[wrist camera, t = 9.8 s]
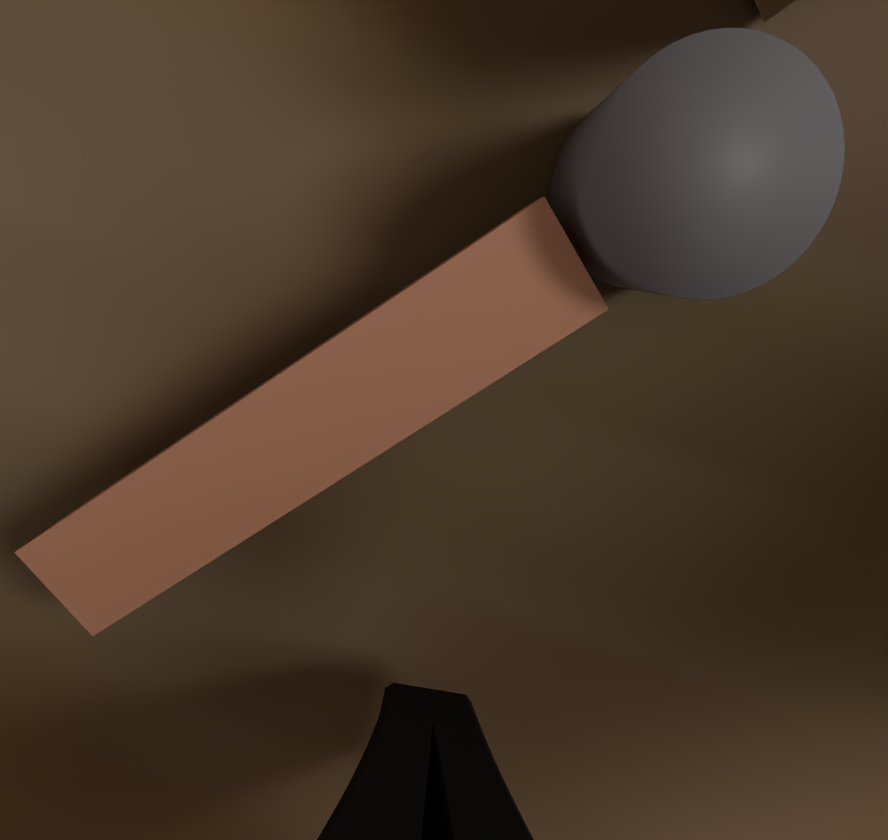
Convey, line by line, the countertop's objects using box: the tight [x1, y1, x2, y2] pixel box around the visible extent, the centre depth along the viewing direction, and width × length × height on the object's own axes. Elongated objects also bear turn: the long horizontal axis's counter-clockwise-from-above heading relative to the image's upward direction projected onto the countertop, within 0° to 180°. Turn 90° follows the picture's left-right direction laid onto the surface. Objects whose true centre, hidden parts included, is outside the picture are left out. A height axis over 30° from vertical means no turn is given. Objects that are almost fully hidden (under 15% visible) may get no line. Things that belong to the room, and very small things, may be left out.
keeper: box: [14, 28, 845, 636], centre depth 8 cm, size 11×3×2 cm, turn 123°
